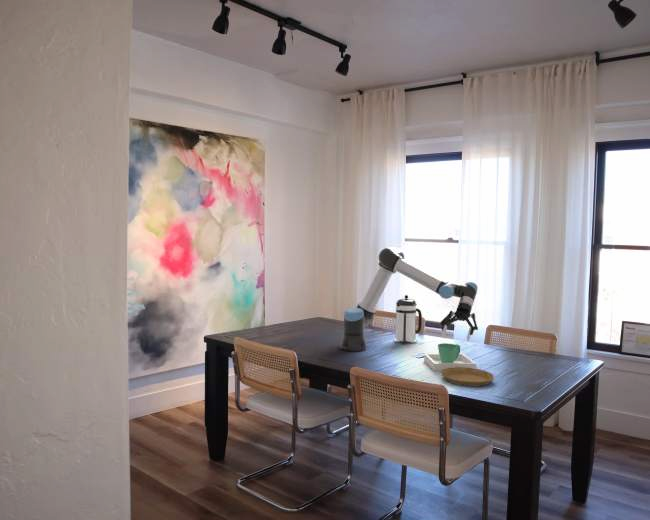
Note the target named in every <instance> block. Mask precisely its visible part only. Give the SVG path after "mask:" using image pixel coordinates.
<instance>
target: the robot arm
mask: <svg viewBox="0 0 650 520" xmlns="http://www.w3.org/2000/svg"><path fill="white" fill-rule="evenodd" d="M378 261H379V262H378V263H377V264H378V267H379V268H378V270H377V272H376V273H375V276H374V277H373V279H372V281H371V284H370V285H369V287H368V290H367V292H366V293H365V295H364V297H363V299H362V300H361V301H359V302H358V304H357V306H356V307H350V308H347V309H345V311H344V312H343V337H342V340H341V343H340V349H341V348H342V349H344V350H343V351H346V350H350V351H349V352H362V351H361V350H363V351H366V350H367V344H366V340H365V337H364V328H367V327H368V326H370V325H371V324H372V322H374V318H375V314H376V311H377V310H376V306H377V304H378V302H379V301H380V299H381V296H382V295H383V293H384V291H385V289H386V288H387V285H388V283H389V281H390V279H391V277H392V275H394V274H396V273H398V274H399V273H400V274H401V275H403V276H405V277H407V278H409V279H410V280H412V281H414V282H416V283H417V284H420V285H422V286H423V287H425V288H427V289H429V290H431V292H434V293H436V294H438V295H439V296H440V298H442V299H446V300H448V299H451V298H453V297H456V298H458V299H459V301H458V304H457V307H456V311H453V310H450V311H449V313H448V314H447V315H446V316H445V317H444V318H443V319H442V320H441V321H439V322H440V325H441V337H442V338H445V336H446V332H447V330H448V326H450V325H451V324H453V323H454V322H457V321H462V322H464V321H465V322H466V324H468V326H469V328H468V332H467V334H466V340H467V341H468V342H469V341H470V339H471V336H473V335H474V331H478V330H479V327H478V325H477V321H476V314H475V312H472V309H473V306H474V303H475V299H476V295H477V292H478V284H476V282H475V283H474V281H473V282H472V281H467V282H465V283H464V284H460V283H456V282H453V281H447V280H446V281H444V280H441V279H440V278H438V277H436V276H434V275H432V274H431V273H428V272H427V271H425V270H424V269H421V268H420V267H418V266H416V265H414V264H412V263H410V262H408V261H407V260H405V253H404V251H403V250H402V249H400V248H398V247H396V246H391V247H384V248H383V249H381V250H380V252H379V254H378ZM471 312H472V313H471ZM469 318H471V319H472V321H473V324H472V322H471V321H470V319H469ZM342 349H341V350H342ZM365 349H366V350H365Z"/></svg>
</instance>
